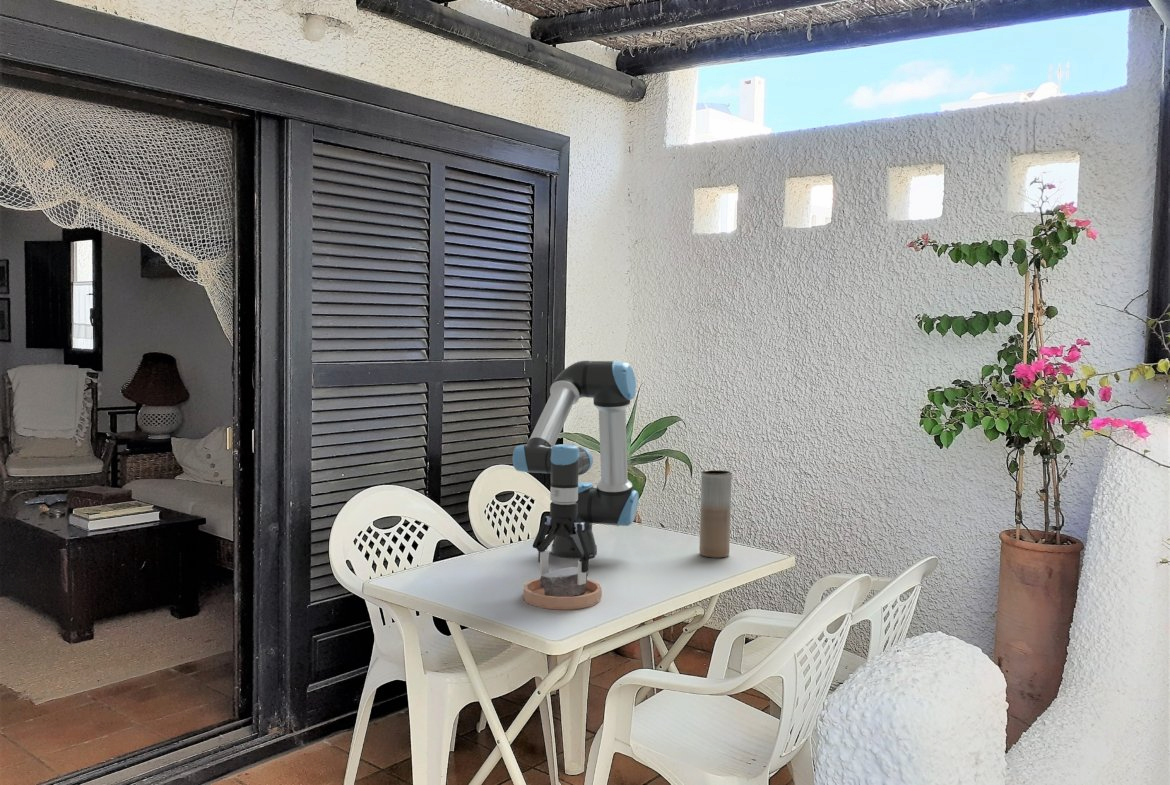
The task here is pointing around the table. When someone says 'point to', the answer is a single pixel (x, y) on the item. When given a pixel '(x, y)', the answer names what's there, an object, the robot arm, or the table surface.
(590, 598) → the saucer
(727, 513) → the vase
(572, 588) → the decorative stone
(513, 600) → the table surface
